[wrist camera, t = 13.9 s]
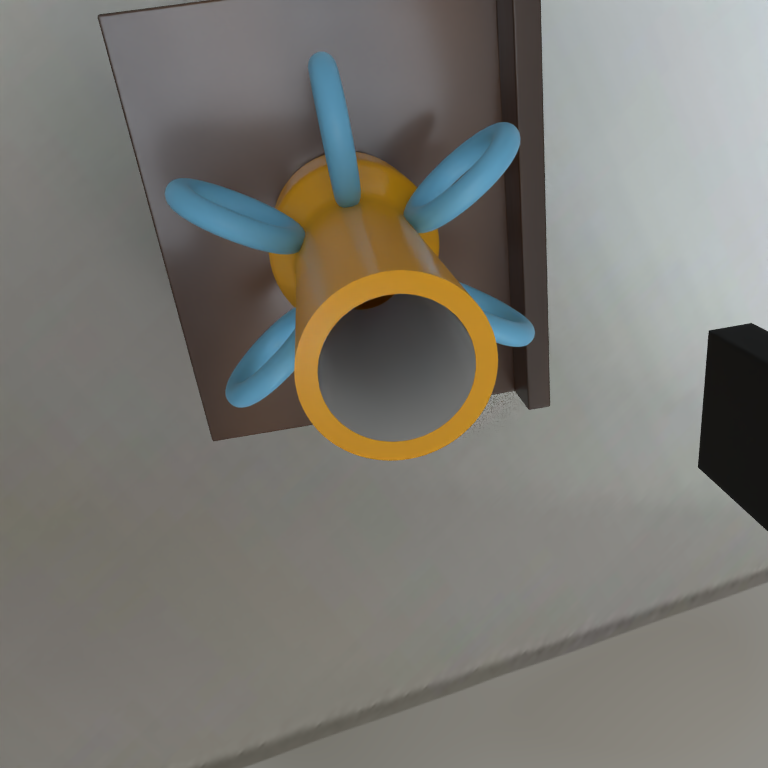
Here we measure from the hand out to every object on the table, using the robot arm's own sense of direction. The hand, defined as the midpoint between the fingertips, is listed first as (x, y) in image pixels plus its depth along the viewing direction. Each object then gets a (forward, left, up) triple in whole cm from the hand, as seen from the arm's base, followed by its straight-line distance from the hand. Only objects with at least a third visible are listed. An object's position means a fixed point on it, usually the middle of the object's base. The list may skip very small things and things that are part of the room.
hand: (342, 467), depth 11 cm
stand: (+1, +1, -28) cm, 28 cm away
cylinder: (+1, +1, -17) cm, 17 cm away
